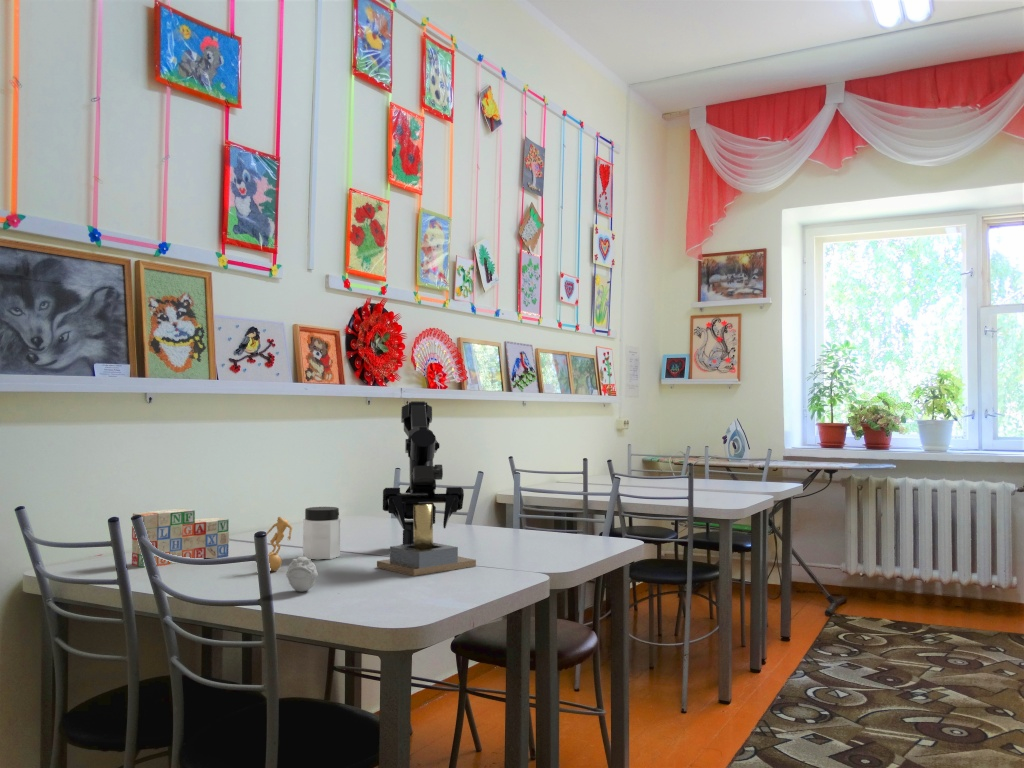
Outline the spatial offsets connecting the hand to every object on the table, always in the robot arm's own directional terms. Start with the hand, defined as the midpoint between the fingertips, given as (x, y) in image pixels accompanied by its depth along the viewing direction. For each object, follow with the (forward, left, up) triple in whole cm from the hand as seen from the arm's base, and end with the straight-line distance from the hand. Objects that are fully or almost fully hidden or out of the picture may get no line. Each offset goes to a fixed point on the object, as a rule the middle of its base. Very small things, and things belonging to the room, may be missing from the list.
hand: (424, 527), depth 190 cm
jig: (-3, -3, -10) cm, 10 cm away
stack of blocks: (+35, -49, -10) cm, 61 cm away
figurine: (+25, -22, -10) cm, 35 cm away
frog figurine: (+32, +2, -10) cm, 34 cm away
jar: (+8, -31, -10) cm, 33 cm away
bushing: (-1, -1, -8) cm, 8 cm away
